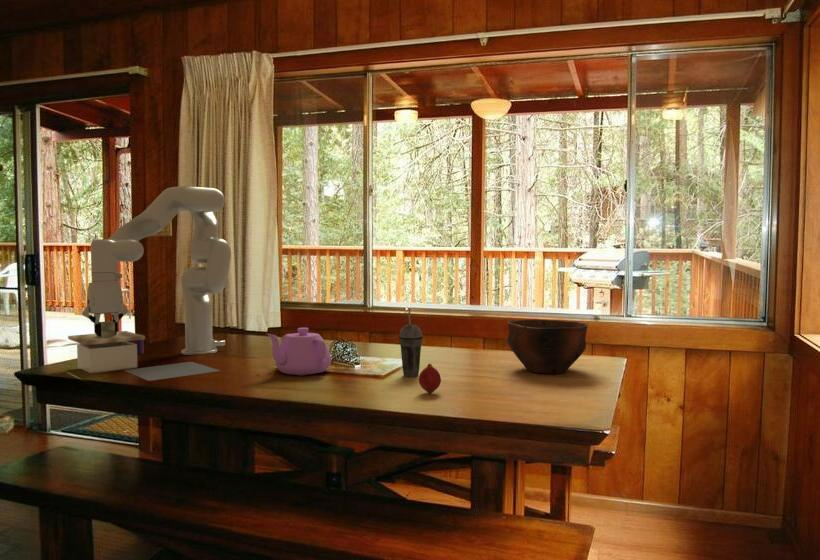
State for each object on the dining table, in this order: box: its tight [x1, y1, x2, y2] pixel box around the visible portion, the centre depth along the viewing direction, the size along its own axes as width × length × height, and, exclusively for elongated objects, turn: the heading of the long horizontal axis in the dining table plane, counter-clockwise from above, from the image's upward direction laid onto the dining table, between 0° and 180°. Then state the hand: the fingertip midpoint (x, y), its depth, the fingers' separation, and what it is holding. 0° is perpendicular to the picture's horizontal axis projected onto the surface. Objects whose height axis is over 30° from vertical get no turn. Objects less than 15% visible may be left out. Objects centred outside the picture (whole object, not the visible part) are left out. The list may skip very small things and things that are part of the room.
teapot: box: [266, 327, 332, 377], centre depth 199 cm, size 22×22×14 cm
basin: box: [76, 341, 138, 374], centre depth 208 cm, size 14×14×8 cm
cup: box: [128, 333, 145, 356], centre depth 236 cm, size 7×10×7 cm
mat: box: [122, 361, 221, 382], centre depth 202 cm, size 22×22×1 cm
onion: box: [418, 363, 442, 394], centre depth 170 cm, size 6×6×8 cm
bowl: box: [506, 319, 589, 374], centre depth 201 cm, size 25×25×15 cm
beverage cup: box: [398, 309, 424, 378], centre depth 194 cm, size 7×7×20 cm
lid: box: [67, 320, 146, 345], centre depth 207 cm, size 18×18×6 cm
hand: (106, 334), depth 207 cm, fingers closed on lid, 4 cm apart
